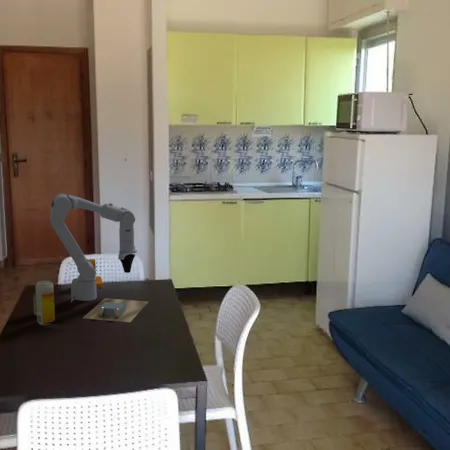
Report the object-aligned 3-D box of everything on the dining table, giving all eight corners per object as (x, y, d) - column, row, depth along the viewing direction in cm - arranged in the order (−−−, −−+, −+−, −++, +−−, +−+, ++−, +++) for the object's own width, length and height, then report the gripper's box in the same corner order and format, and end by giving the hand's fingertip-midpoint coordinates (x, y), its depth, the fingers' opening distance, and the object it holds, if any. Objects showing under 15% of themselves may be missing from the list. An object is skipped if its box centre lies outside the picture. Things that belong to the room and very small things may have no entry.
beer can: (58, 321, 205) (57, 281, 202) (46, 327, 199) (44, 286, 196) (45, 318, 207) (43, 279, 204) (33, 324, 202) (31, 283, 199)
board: (82, 321, 205) (82, 318, 205) (105, 301, 226) (105, 298, 226) (130, 325, 202) (130, 322, 202) (148, 304, 224) (148, 301, 223)
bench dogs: (97, 317, 206) (97, 308, 205) (99, 315, 208) (99, 306, 207) (118, 319, 205) (118, 309, 204) (120, 317, 207) (120, 307, 206)
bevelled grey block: (99, 315, 208) (99, 307, 207) (105, 309, 214) (105, 302, 213) (120, 317, 207) (120, 309, 206) (125, 311, 213) (125, 303, 212)
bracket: (102, 289, 241) (102, 262, 238) (85, 290, 239) (84, 263, 236) (100, 281, 251) (100, 255, 248) (83, 283, 249) (83, 256, 246)
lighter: (32, 315, 210) (31, 290, 207) (35, 312, 213) (33, 286, 211) (52, 315, 210) (51, 289, 208) (54, 311, 214) (53, 286, 212)
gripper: (130, 244, 219) (130, 278, 222) (141, 236, 233) (142, 268, 236) (112, 243, 221) (113, 276, 223) (125, 235, 235) (126, 266, 237)
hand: (127, 272), depth 230 cm, fingers closed
